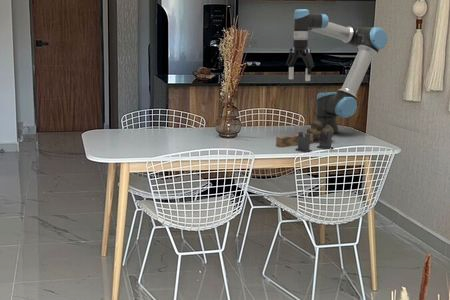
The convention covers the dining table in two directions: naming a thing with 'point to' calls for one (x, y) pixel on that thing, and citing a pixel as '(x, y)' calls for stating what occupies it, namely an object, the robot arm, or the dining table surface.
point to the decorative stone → (318, 130)
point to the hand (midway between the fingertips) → (299, 80)
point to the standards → (305, 141)
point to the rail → (290, 140)
